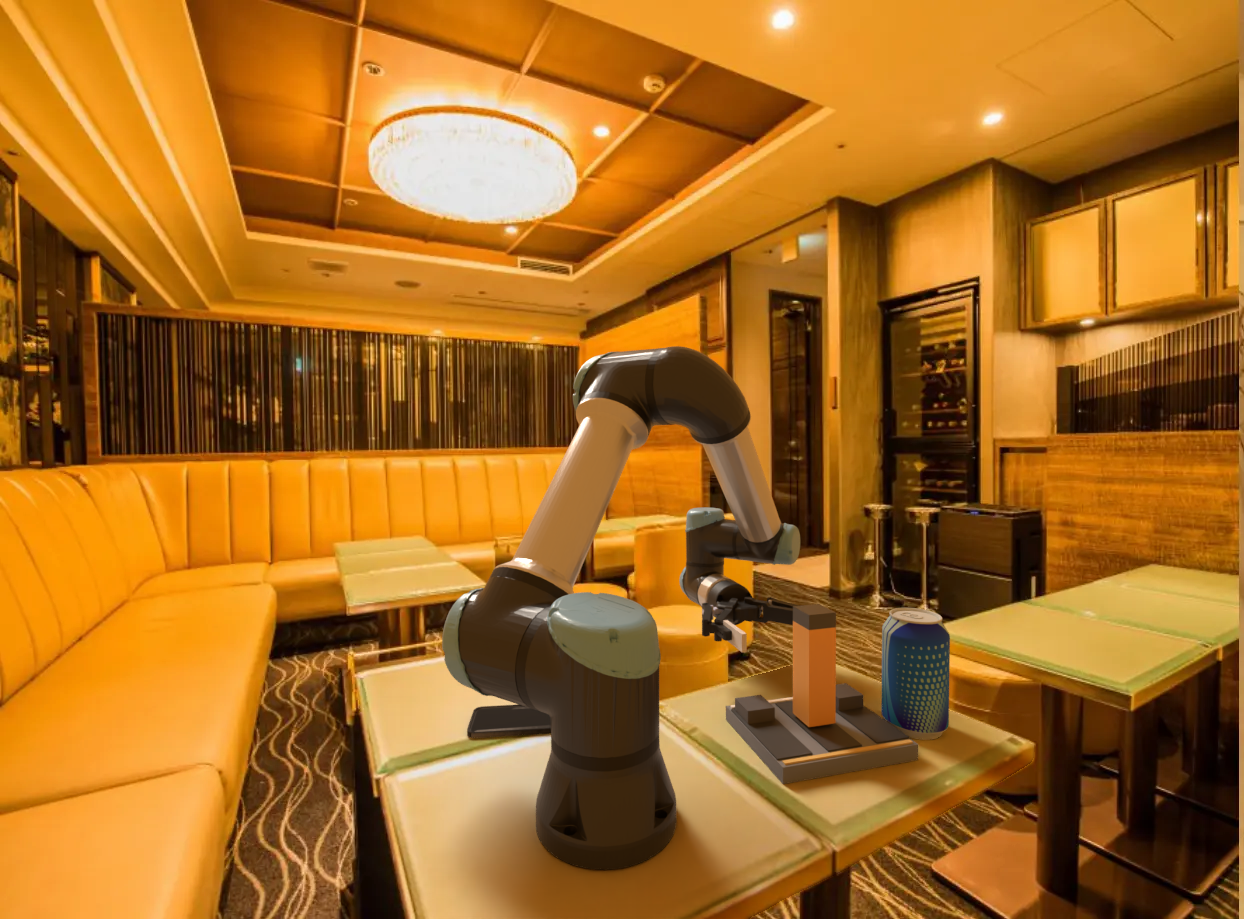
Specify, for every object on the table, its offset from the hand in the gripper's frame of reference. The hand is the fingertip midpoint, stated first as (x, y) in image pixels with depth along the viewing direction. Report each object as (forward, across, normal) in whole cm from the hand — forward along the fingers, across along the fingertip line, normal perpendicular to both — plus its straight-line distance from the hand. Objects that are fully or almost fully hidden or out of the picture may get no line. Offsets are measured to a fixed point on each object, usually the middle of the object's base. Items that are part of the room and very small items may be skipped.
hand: (786, 638), depth 86 cm
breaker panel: (+8, 0, -11) cm, 14 cm away
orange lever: (+8, 0, -8) cm, 11 cm away
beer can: (+9, -15, -11) cm, 21 cm away
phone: (-8, +38, -12) cm, 41 cm away
